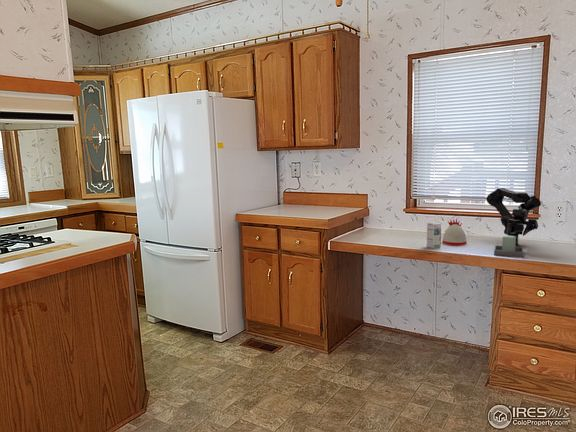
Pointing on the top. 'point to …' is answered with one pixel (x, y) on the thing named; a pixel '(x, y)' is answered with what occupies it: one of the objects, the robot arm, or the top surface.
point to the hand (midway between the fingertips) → (514, 234)
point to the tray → (517, 252)
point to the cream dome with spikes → (454, 234)
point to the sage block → (509, 243)
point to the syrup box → (434, 234)
